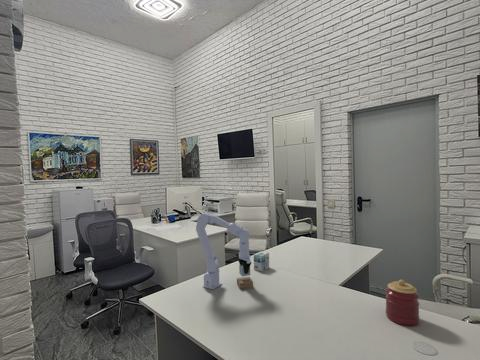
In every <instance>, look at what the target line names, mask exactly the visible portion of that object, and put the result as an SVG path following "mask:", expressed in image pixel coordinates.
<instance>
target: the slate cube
mask: <svg viewBox="0 0 480 360" xmlns="http://www.w3.org/2000/svg"><path fill="white" fill-rule="evenodd" d="M238 266H239V267H238V268H239V269H238V271H239V274H240V276H241V277H249V276H251V267H250V268H249V272H248V274H245V273H244V268H243V265H240V264H239V265H238Z"/></svg>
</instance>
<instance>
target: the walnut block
mask: <svg viewBox="0 0 480 360" xmlns="http://www.w3.org/2000/svg"><path fill="white" fill-rule="evenodd" d="M236 285H237V287H238V289H239V290H246V289H247V290H248V289H254V281H253V280H252V278H251V277H250V276H241V277H237V278H236Z"/></svg>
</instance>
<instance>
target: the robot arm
mask: <svg viewBox="0 0 480 360" xmlns="http://www.w3.org/2000/svg"><path fill="white" fill-rule="evenodd" d="M208 224H217V225H219V226H221V227H223V228H225V229H227V232H229V233H231V234H232V235H233V236H234V235H235V236H236V237H238V238H239V248H238V249H239V252H238V258H237V262H238V263H239V265H243V268H244V273H245V274H248V272H249V268H250V269H251V265H252V261H251V259H250V258H252V255H250V241H249V239H250V238H249V235H250V231H249V230H248V229H247V227H243V226H240V225H238V224H237V223H236V222H228V221H226V220H224V219H222V218H221V217H219V216H217V215H215V214H213V213H211V212H210V211H205V212H203V213H201V214H200V215H199V216H198V217H197V219H196V225H195V231H196V234H197V237H198V239H199V242H200V244H201V248H202V250H203V253H204V255H205V263H206V273H205V274H204V275H203V285H202V288H205V289H209V290H215V289H216V288H218V287H220V286H222V285H223V283H222V282H220V268H219V265H220V260H219V258H218V257H217V255H216V254H215V253H214V251H213V247H212V245H211V241H210V240H209V237H208V236H209V235H207V231H206V227H207V226H208Z"/></svg>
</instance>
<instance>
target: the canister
mask: <svg viewBox="0 0 480 360" xmlns="http://www.w3.org/2000/svg"><path fill="white" fill-rule="evenodd" d="M385 293H386V295H385V314H386V315H385V316H386V317H387V319H388V320H390V321H391V322H392V323H395V324H398V325H401V326H404V327H415V326H417V325H419V323H420V302H419V298H420V295H419V293H418V290H417V288H416V287H415V286H414V285H412V284H410V283H408V282H406V281H405V280H404V279H399V280H395V281H392V282H390V283H387V287H386V288H385Z"/></svg>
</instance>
